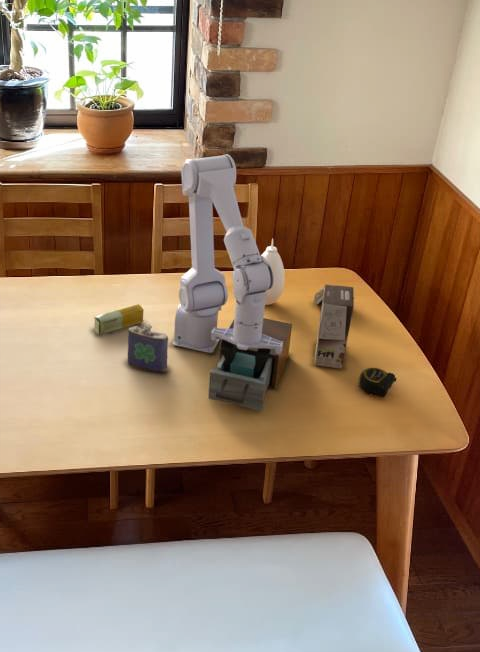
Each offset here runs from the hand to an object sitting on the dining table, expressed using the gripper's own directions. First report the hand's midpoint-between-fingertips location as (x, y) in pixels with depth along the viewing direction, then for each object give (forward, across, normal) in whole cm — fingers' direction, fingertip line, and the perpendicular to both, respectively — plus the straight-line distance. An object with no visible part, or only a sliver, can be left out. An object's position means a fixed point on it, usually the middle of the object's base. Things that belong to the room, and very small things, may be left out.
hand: (243, 373), depth 167 cm
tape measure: (+5, +27, +11) cm, 30 cm away
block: (+1, 0, 0) cm, 1 cm away
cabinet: (+5, 0, +10) cm, 11 cm away
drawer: (+4, 0, -3) cm, 5 cm away
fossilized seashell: (+5, +12, +42) cm, 44 cm away
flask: (+5, -22, +1) cm, 23 cm away
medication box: (+5, -34, +14) cm, 37 cm away
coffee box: (+5, +15, +20) cm, 26 cm away
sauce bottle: (+5, -4, +38) cm, 39 cm away
